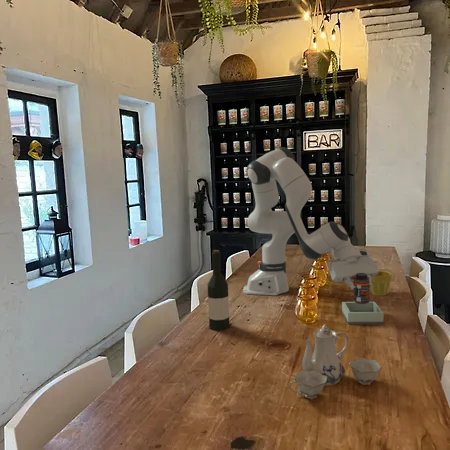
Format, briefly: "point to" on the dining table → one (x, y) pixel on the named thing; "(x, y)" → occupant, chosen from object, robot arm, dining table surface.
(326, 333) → the chinaware
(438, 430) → the dining table surface
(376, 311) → the grey-green square tray
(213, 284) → the wine bottle
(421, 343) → the dining table surface
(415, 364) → the dining table surface
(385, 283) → the plant pot
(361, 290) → the supplement bottle
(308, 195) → the robot arm
